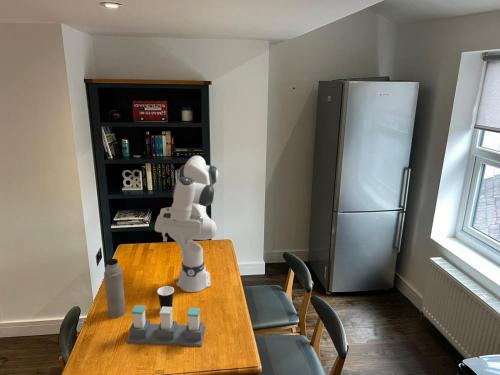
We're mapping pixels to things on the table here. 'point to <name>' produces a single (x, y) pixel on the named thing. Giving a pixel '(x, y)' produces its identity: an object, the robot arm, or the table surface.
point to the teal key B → (194, 319)
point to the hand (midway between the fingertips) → (175, 242)
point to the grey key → (166, 318)
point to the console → (166, 335)
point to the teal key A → (139, 316)
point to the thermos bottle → (114, 289)
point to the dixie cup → (165, 296)
